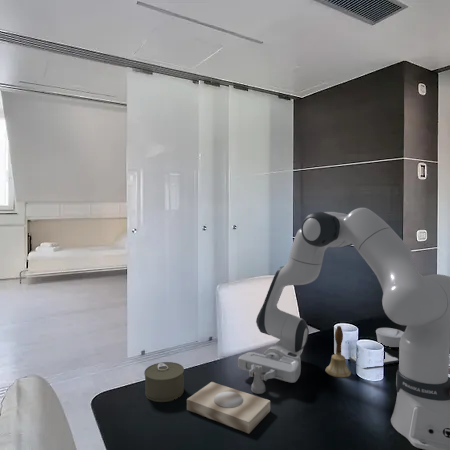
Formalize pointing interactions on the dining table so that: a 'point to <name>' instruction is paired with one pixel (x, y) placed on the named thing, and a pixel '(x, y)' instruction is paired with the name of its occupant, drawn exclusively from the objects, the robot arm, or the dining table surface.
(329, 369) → the hand bell
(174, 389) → the can
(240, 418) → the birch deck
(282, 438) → the dining table surface
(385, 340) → the ramekin
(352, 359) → the phone case
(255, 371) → the rook chess piece
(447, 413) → the robot arm
